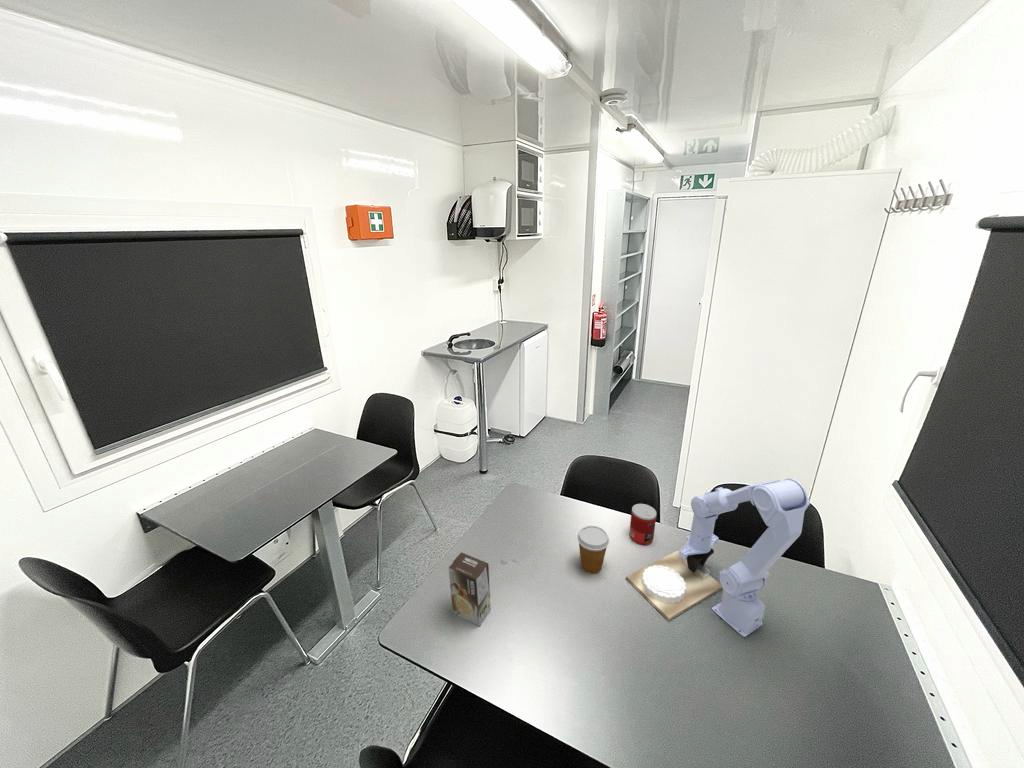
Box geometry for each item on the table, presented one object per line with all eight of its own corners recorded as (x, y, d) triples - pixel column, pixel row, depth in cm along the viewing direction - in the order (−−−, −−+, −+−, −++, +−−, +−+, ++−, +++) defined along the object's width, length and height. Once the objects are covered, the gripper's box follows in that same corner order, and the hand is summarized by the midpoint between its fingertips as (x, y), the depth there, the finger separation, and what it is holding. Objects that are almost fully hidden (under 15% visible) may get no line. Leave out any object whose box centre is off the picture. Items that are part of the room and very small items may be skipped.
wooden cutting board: (722, 588, 115) (724, 579, 114) (668, 621, 106) (670, 611, 105) (677, 552, 129) (678, 544, 127) (626, 578, 119) (627, 570, 118)
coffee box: (492, 608, 110) (490, 563, 105) (479, 627, 105) (477, 580, 99) (464, 595, 114) (461, 551, 109) (451, 613, 109) (447, 567, 103)
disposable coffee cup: (604, 555, 128) (607, 525, 124) (608, 579, 119) (611, 547, 115) (575, 553, 129) (576, 523, 125) (576, 577, 120) (578, 545, 116)
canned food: (648, 549, 131) (652, 521, 127) (625, 538, 135) (628, 512, 131) (656, 536, 136) (660, 509, 133) (633, 526, 141) (636, 500, 137)
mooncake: (662, 612, 108) (664, 602, 107) (632, 581, 118) (633, 571, 117) (694, 596, 113) (696, 586, 112) (662, 567, 123) (663, 558, 122)
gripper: (706, 516, 122) (699, 551, 127) (673, 531, 116) (667, 567, 121) (727, 529, 117) (719, 566, 121) (693, 546, 110) (687, 584, 115)
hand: (695, 568), depth 121 cm, fingers closed on wooden cutting board, 2 cm apart
